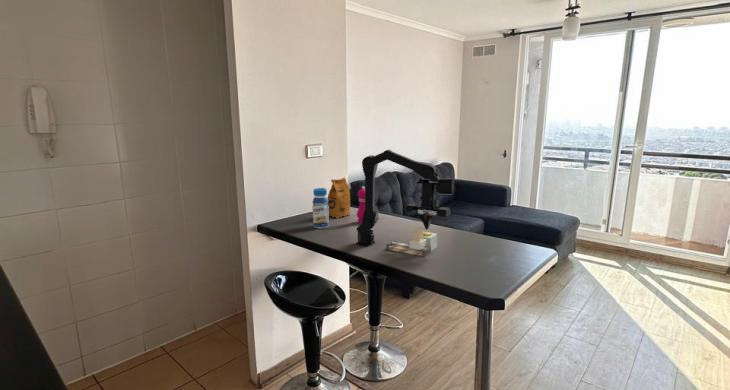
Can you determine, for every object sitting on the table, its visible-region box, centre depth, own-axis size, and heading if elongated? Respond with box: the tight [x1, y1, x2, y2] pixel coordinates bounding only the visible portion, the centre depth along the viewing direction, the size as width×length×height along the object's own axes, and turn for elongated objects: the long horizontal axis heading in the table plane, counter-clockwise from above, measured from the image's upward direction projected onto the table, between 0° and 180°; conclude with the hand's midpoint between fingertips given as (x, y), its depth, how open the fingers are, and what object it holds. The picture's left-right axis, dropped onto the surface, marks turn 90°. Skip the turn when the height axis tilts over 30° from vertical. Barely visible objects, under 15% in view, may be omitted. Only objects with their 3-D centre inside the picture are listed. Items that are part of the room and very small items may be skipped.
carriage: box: [409, 227, 427, 250], centre depth 162 cm, size 5×6×8 cm
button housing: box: [423, 231, 438, 252], centre depth 168 cm, size 7×7×6 cm
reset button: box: [423, 231, 432, 236], centre depth 168 cm, size 3×3×5 cm
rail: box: [386, 239, 432, 258], centre depth 165 cm, size 18×6×2 cm, turn 58°
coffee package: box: [327, 177, 351, 219], centre depth 223 cm, size 10×12×22 cm
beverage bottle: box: [312, 187, 330, 229], centre depth 202 cm, size 8×8×20 cm
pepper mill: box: [356, 185, 365, 224], centre depth 209 cm, size 7×7×20 cm
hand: (427, 229), depth 167 cm, fingers closed
